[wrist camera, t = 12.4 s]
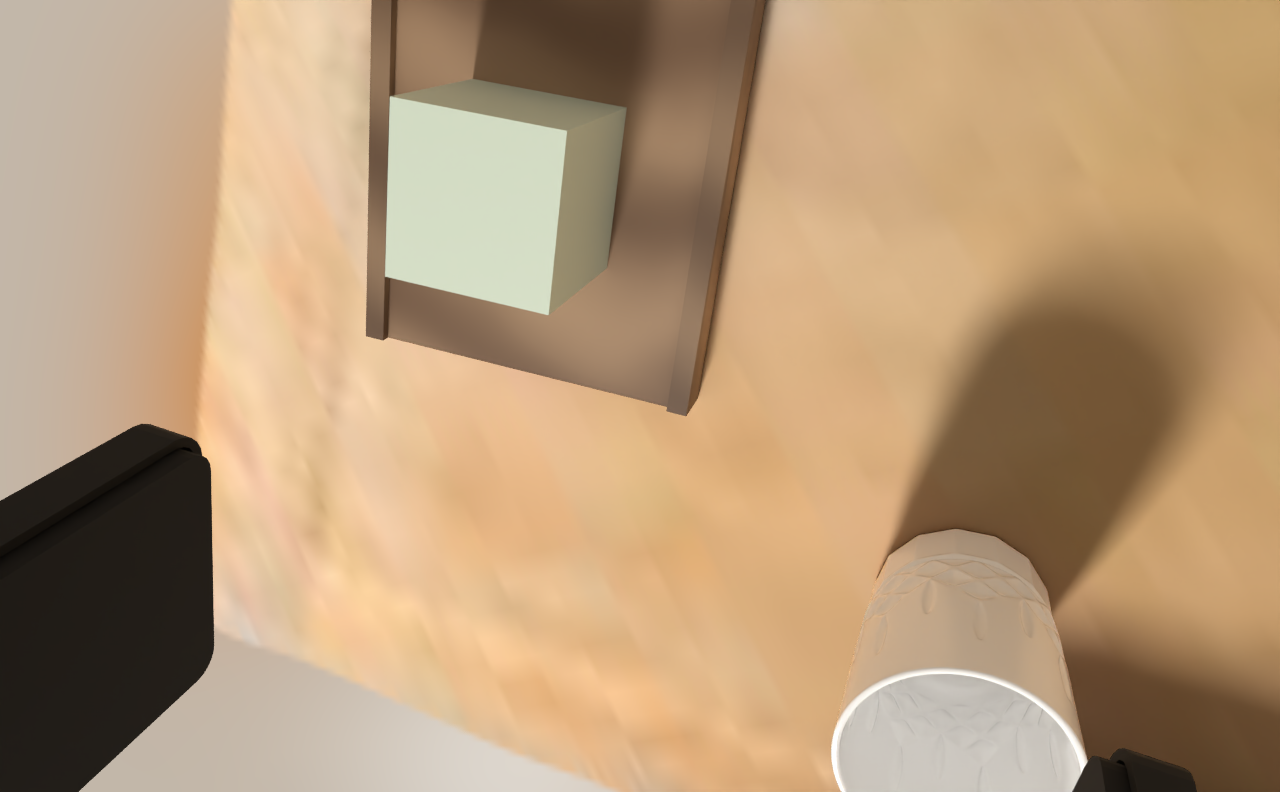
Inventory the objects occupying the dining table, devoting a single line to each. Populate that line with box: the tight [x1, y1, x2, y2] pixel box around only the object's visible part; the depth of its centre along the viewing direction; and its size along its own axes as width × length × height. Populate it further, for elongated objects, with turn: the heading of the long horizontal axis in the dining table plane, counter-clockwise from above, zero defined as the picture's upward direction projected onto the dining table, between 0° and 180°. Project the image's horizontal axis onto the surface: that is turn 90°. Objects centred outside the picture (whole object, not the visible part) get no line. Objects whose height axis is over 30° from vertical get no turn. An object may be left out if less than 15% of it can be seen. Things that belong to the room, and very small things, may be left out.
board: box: [366, 0, 766, 416], centre depth 38 cm, size 16×14×2 cm
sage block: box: [385, 79, 627, 315], centre depth 35 cm, size 6×6×6 cm
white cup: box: [831, 529, 1088, 792], centre depth 37 cm, size 8×8×10 cm
